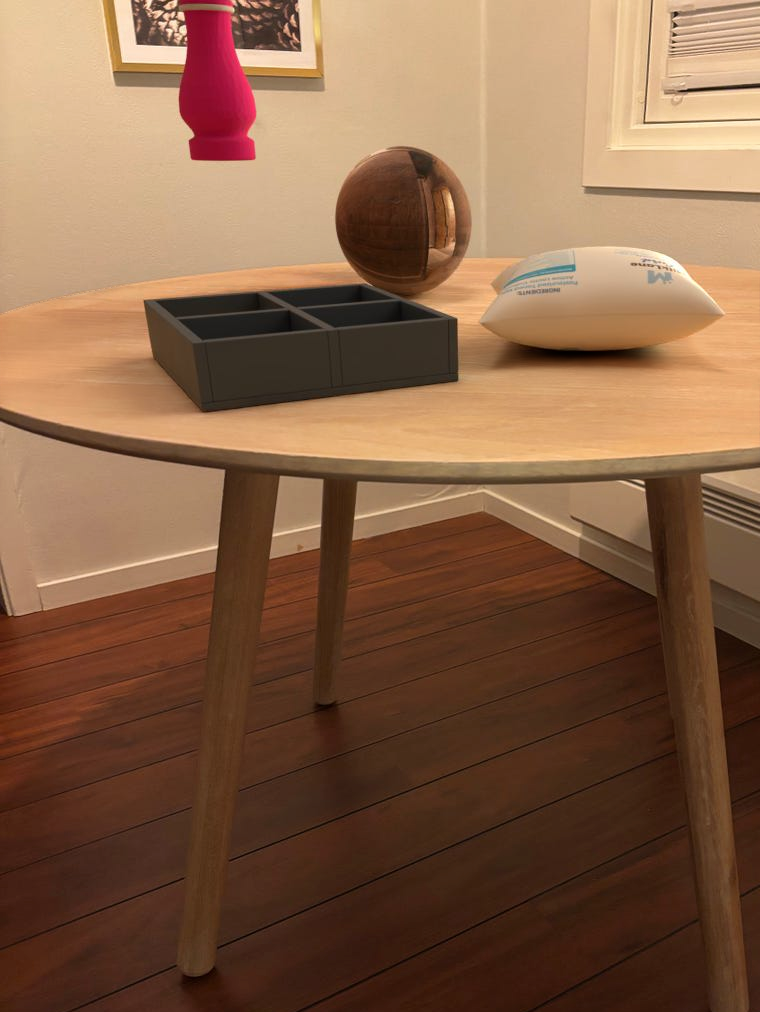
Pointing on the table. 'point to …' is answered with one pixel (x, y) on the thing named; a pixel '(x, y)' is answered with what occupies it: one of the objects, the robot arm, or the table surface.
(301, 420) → the table surface
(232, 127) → the pepper mill
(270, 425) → the table surface
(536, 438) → the table surface
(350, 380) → the compartment tray
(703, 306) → the pouch
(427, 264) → the shiny brown ball
